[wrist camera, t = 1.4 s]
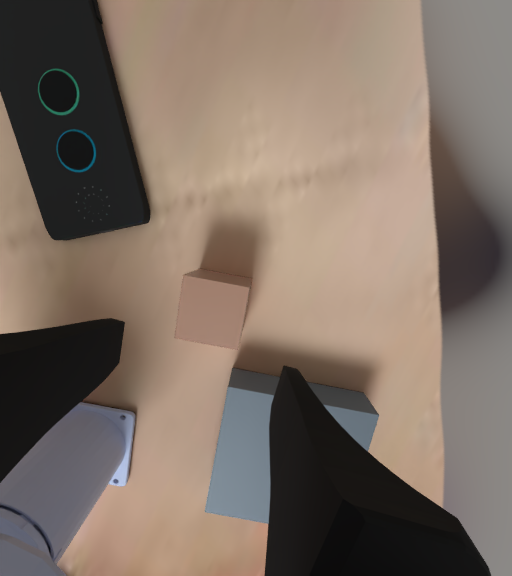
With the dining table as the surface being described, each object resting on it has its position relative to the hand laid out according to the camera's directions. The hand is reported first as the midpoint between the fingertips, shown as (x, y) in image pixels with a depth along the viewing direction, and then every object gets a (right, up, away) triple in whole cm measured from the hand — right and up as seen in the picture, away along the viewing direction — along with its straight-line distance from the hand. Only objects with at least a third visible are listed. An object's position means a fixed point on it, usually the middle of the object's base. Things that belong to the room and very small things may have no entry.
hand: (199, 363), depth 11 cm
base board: (+5, -11, +13) cm, 17 cm away
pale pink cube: (-1, +2, +11) cm, 11 cm away
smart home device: (-12, +18, +9) cm, 23 cm away
